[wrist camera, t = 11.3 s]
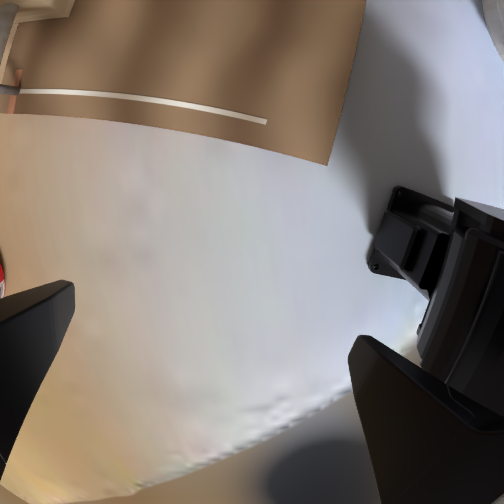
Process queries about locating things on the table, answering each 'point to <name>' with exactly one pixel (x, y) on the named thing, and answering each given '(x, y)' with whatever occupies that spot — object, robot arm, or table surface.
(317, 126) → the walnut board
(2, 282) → the soda can
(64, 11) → the beige block with rod
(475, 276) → the robot arm
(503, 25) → the flag stand
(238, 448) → the table surface
